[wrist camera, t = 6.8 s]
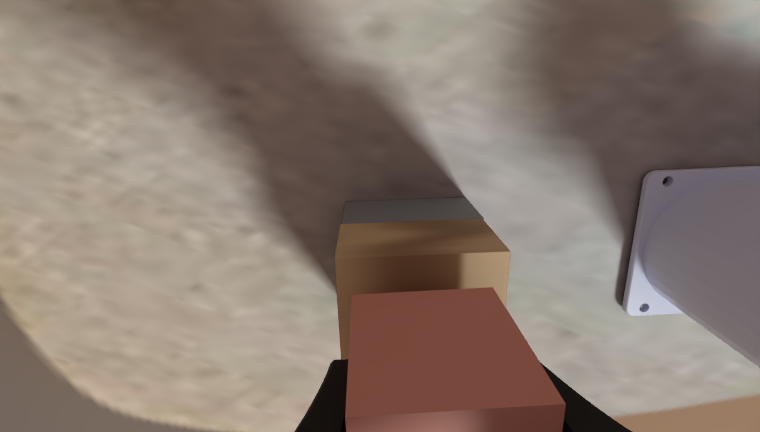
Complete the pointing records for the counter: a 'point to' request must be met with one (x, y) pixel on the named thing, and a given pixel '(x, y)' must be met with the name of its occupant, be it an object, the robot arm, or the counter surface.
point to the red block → (444, 366)
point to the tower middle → (416, 261)
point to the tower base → (408, 210)
